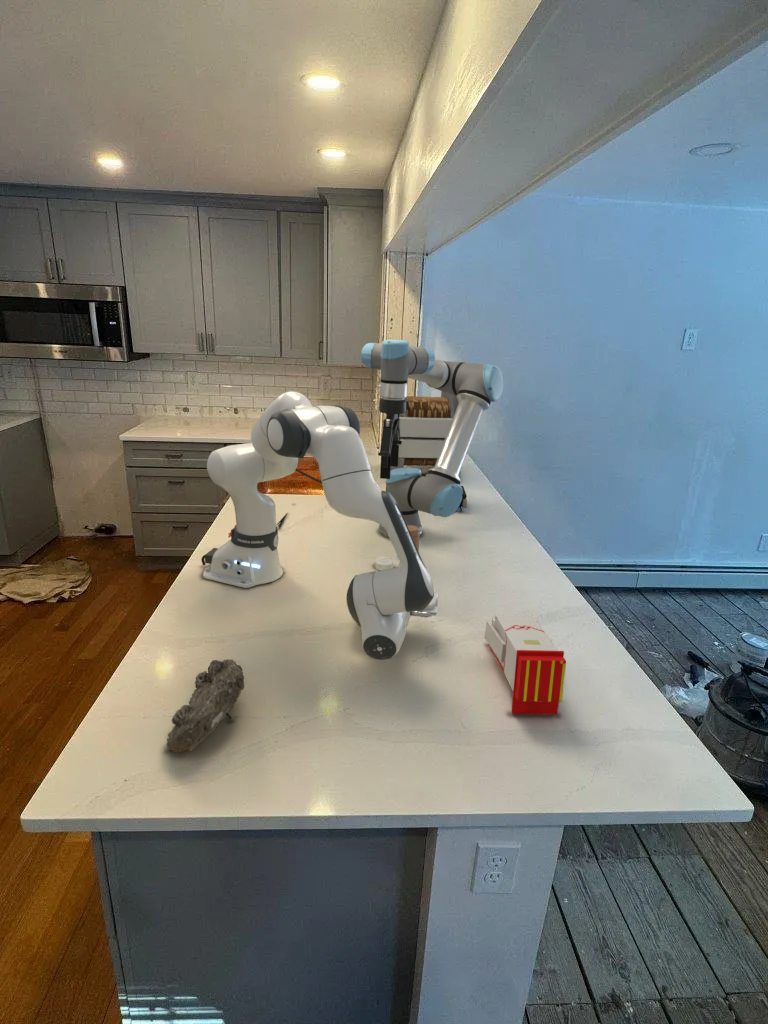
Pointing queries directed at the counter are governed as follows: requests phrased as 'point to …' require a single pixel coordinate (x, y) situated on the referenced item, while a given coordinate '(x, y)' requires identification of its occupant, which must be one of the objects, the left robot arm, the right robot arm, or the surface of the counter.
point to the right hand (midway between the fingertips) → (389, 472)
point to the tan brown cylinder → (414, 535)
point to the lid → (383, 563)
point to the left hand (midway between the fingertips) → (400, 584)
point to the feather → (281, 520)
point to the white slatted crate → (424, 429)
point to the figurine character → (463, 500)
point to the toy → (527, 663)
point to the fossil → (206, 705)
